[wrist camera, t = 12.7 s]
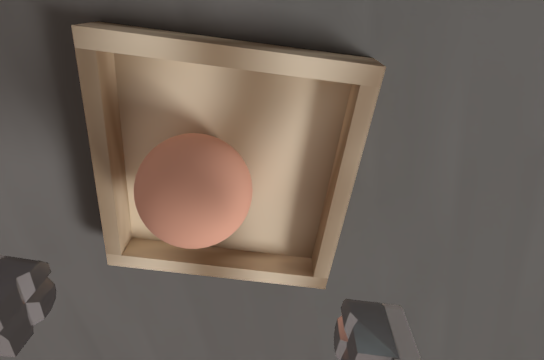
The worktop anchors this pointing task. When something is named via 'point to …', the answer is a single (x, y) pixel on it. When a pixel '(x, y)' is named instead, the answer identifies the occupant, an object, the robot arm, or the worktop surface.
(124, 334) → the worktop surface
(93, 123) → the birch tray
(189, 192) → the coral ball
